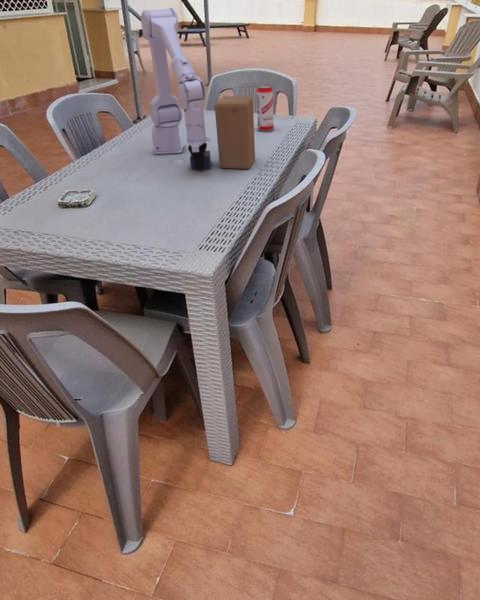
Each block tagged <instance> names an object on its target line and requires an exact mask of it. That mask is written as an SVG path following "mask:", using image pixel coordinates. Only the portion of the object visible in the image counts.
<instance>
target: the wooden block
mask: <svg viewBox="0 0 480 600" xmlns="http://www.w3.org/2000/svg"><path fill="white" fill-rule="evenodd" d="M214 114H215V115H214V117H215V125H216V126H215V127H216V137H217V151H218V161H219V163H218V164H219V167H220V168H221V169H235V170H237V169H238V170H248V169H250V168H251V166H252V165H253V163H254V162H255V159H256V143H255V118H254V100H253V98H252V96H234V95H233V96H231V95H230V96H229V95H227V96H226V95H225V96H222V97H221V98H220V99H218V100H217V101H216V102H215V103H214Z"/></svg>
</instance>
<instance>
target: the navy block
mask: <svg viewBox="0 0 480 600" xmlns="http://www.w3.org/2000/svg"><path fill="white" fill-rule="evenodd" d="M189 160H190V168H191V170H198V169H197V168H196V166H195V163H194V159H193V157H192V155H191V154H190V156H189ZM211 165H212V159H211V151H210V150H205V154H204V166H203V169H202V170H210V169H211Z"/></svg>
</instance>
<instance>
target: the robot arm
mask: <svg viewBox="0 0 480 600" xmlns="http://www.w3.org/2000/svg"><path fill="white" fill-rule="evenodd" d="M140 23H141V30H142V35H143V39H144V40H146V41H148V43H149V47H150V54H151V63H152V68H153V76H154V82H155V83H154V84H155V91H156V95H155V96H154V97H153V98H152V99H151V100H150V101H149V116H150V119H151V122H152V124H153V125H152V126H151V138H152V145H153V149H154V150H153V151H154V155H163V154H166V155H167V154H168V155H169V154H170V155H171V154H181V153H182V152H183V149H184V144H181V136H180V128H179V125H180V122H182V120H183V115H184V122H185V123H184V125H185V130H186V142H187V143H188V147H187V150H188V152H189V153H190V156H191V155H192V157H193V159H194V163H195V166H196V168H197V169H196V170H204V169H203V166H204V154H205V151H207V148H208V143H207V142H210V141H211V138H210V136H207V133H206V123H205V114H204V104H203V101H204V100H205V97H206V91H205V90H206V89H205V85H204V82H203V81H202V79H201V78H200V77H199V76H198V75H196V73H195V70H194V68H193V66H192V63H191V61H190V58H189V57H187V55H184V52H183V50H182V46H181V43H180V39H179V35H178V32H179V17H178V14H177V12H176V10H175V9H174V8H172V7H169V8H163V9H148V10H146V9H143V10H142V12H141V14H140ZM167 52H168V53H167ZM168 55H169V57H170V58H171V63H170V68H171V70H172V73H173V75H174V77H175V81H176V83H177V85H178V87H177V92H178V97H179V99H178V98H177V97H176V96H175V95H173V94H172V87H171V79H170V78H171V77H170V69H169V62H168ZM182 110H183V111H182Z"/></svg>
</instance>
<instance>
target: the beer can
mask: <svg viewBox="0 0 480 600" xmlns="http://www.w3.org/2000/svg"><path fill="white" fill-rule="evenodd" d="M256 112H257V113H256V114H257V129H258V130H259V131H260V132H263V133H268V132H272V131H273V129H274V125H275V124H274V90H273V89H272V85H269V84H262V85H261V84H260V85H258V86H257V90H256Z"/></svg>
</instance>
